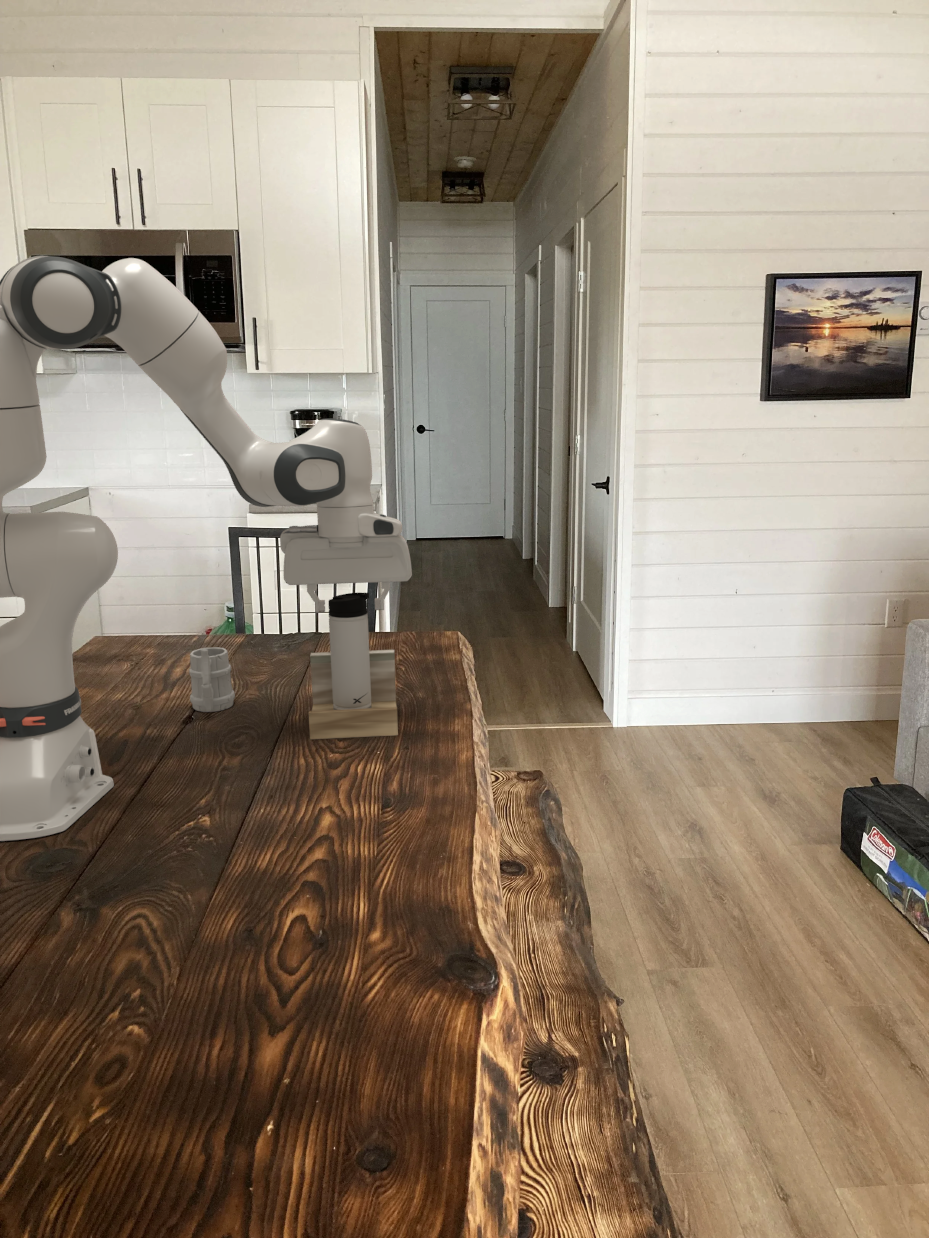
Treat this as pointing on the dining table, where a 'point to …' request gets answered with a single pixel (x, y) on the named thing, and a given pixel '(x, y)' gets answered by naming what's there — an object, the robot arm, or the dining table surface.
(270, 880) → the dining table surface
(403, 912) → the dining table surface
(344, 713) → the wooden l bracket
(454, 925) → the dining table surface
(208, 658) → the mug
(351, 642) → the travel mug
